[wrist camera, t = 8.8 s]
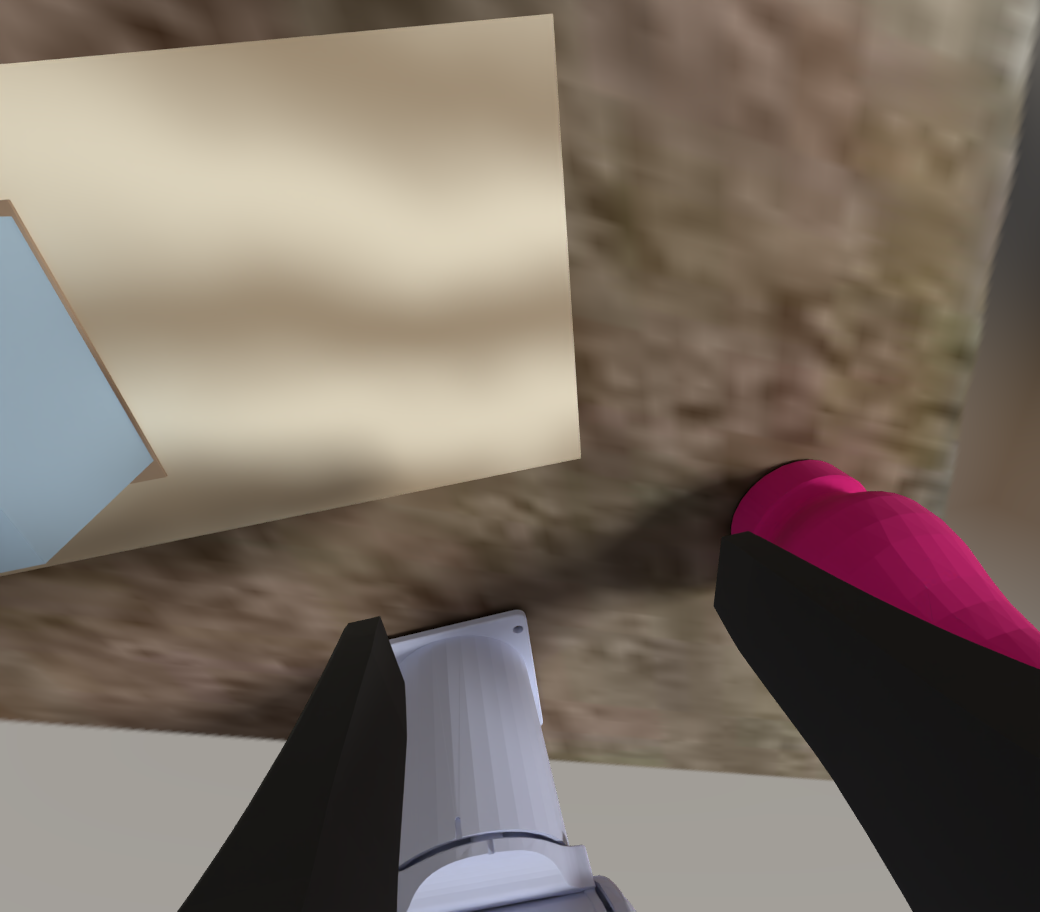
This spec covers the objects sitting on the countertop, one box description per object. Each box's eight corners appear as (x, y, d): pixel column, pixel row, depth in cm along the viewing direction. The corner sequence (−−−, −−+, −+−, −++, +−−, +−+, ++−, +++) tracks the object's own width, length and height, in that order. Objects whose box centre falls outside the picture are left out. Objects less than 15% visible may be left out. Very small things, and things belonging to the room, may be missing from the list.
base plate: (570, 441, 19) (624, 523, 14) (-14, 557, 17) (-198, 706, 12) (539, 33, 13) (617, -79, 8) (-397, 123, 11) (-1141, 43, 6)
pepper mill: (854, 427, 22) (2475, 1232, 5) (847, 537, 26) (1750, 1226, 8) (713, 482, 22) (1834, 1515, 5) (726, 585, 26) (1383, 1386, 8)
